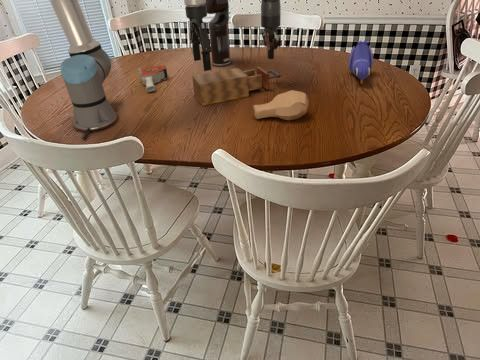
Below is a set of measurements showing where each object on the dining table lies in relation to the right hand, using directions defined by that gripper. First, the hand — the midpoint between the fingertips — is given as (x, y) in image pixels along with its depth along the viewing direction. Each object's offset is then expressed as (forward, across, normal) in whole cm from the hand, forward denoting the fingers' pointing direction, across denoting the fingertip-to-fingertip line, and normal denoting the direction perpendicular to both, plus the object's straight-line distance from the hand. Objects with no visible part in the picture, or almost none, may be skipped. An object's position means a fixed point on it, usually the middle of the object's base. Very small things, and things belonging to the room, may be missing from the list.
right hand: (270, 58), depth 147 cm
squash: (+12, -29, +10) cm, 33 cm away
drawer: (+11, 0, +10) cm, 14 cm away
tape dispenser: (+12, +29, +46) cm, 56 cm away
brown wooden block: (+12, 0, +23) cm, 25 cm away
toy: (+12, -11, -37) cm, 41 cm away
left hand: (-2, 0, +29) cm, 29 cm away
